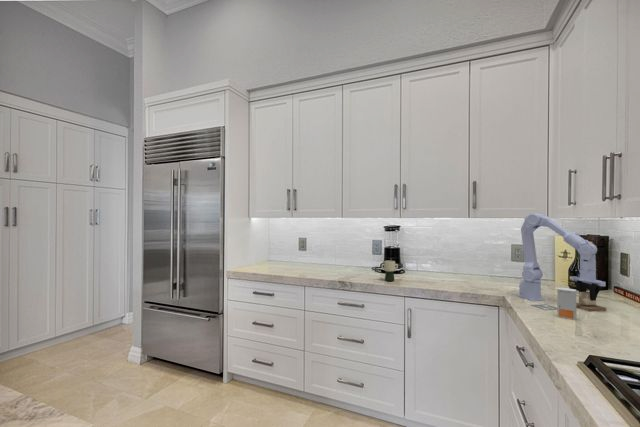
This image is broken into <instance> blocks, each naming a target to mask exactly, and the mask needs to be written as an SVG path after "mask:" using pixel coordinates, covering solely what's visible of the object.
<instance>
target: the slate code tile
mask: <svg viewBox="0 0 640 427" xmlns="http://www.w3.org/2000/svg"><path fill="white" fill-rule="evenodd" d="M530 306H531V307H535V308H537V309H540V310H543V311H557V306H554V305H550V304H547V303H546V304H530Z"/></svg>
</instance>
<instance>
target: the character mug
mask: <svg viewBox="0 0 640 427" xmlns="http://www.w3.org/2000/svg"><path fill="white" fill-rule="evenodd" d="M383 261H384V262H383V263H381V269H382V270H383V271H385V275H384V280H385V281H387V282H388V281H389V282H392V281H395V273H394V272H395V271H396V270H398V269H399V264H398V263H396V261H395V260H383Z"/></svg>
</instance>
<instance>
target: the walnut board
mask: <svg viewBox="0 0 640 427" xmlns="http://www.w3.org/2000/svg"><path fill="white" fill-rule="evenodd" d="M576 309H579V310H583V311H586V312H591V313H592V312H606V311H607V307H605V306H601V305H598V304H596V305H585V304H581V303H579V302H576Z"/></svg>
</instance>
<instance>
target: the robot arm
mask: <svg viewBox="0 0 640 427" xmlns="http://www.w3.org/2000/svg"><path fill="white" fill-rule="evenodd" d="M540 227H546V228H548V229H550V230H552V231H553V232H555V233H556V234H558V235H559V236H561V237H562V238H563V241H564V242H565V243H566V244H568V245H569V246H571V247H572V248H573V249H575V250H576V251H577V252H578V254H579V276H571V281H573V284H574V285H575V287H576V288H577V289H576V290H577V291H578V293H579V292H587V288H588V290H589V291H588V292H590V300H591V301H596V302H597V297H598V295H599V292H600V291H601V290H602V289H603V287H607V286H606V281H604V280H603V281H602V280H598V279H597V260H596V254H597V252H598V248H597V245H596V244H594V243H592V242H590V241H589V240H588V239H584V238H583V237H581V236H580V234H579V233H578V232H574V231H568V230H567V229H565V228H564V227H563V226H561V225H560V224H558V222H556V221H555V220H553V219H552V218H551V217H549V216H547V215H546V214H544V213H542V212H541V213H540V212H539V213H529V214H527V216H526V217H524V222H523V223H522V225H521V228H520V233H521V240H522V241H521V242H522V248H523V255H524V256H523V258H524V263H523V264H524V265H523V267H522V272H521V277H522V278H523V279H522V280H521V281H520V282H519V286H518V287H519V290H518V291H519V294H518V295H517V297H519V298H522V299H526V300H529V301H531V302H532V301H534V302H535V301H546V299H545V298H543V297H542V294H541V293H542V286H541V285H542V284H541V282H542V281H541V279H542V278H543V271H542V270H541V267H540V264H539V263H538V259H537V251H536V243H535V237H534V235H535V234H534V232H535V231H537V229H538V228H540ZM574 281H575V282H574Z"/></svg>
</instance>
